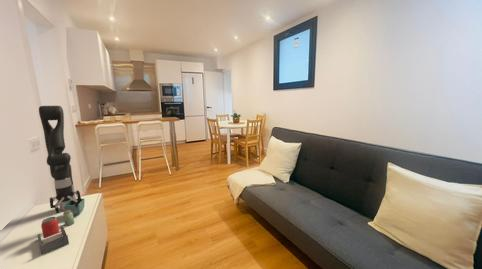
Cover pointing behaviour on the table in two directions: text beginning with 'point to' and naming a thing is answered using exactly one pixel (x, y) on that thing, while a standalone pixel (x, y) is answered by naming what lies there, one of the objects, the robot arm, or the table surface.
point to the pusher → (52, 238)
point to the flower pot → (71, 206)
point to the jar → (68, 217)
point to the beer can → (50, 227)
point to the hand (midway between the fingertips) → (67, 209)
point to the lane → (53, 243)
